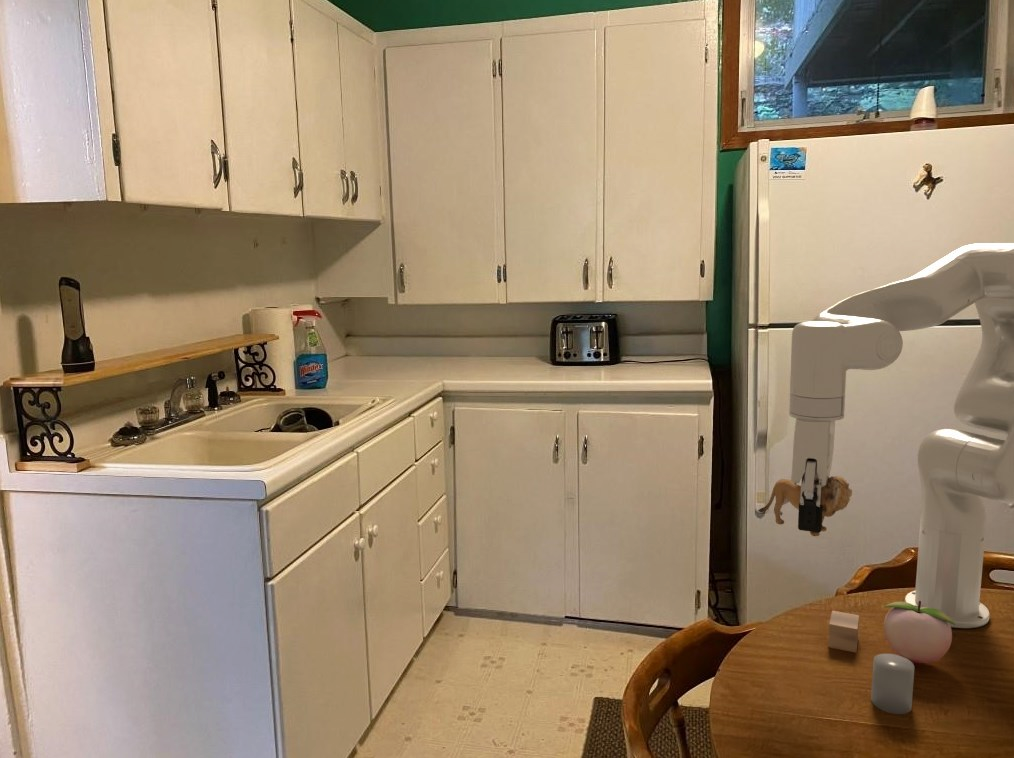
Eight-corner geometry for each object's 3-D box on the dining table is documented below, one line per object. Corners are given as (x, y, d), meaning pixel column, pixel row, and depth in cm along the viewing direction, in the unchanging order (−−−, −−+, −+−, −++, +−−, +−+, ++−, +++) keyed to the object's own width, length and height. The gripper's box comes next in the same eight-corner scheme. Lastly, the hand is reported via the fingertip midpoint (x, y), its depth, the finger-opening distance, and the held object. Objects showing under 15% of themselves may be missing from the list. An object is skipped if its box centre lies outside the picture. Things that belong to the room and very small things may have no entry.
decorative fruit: (881, 671, 114) (885, 608, 113) (880, 645, 122) (884, 585, 120) (954, 685, 110) (959, 619, 109) (949, 657, 118) (953, 595, 116)
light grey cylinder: (871, 689, 110) (874, 650, 109) (911, 698, 108) (914, 658, 107) (870, 708, 105) (873, 668, 104) (911, 717, 103) (914, 676, 102)
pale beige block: (831, 633, 126) (832, 610, 125) (857, 638, 124) (859, 615, 123) (828, 647, 122) (829, 624, 121) (856, 653, 120) (857, 629, 119)
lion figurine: (856, 534, 114) (859, 475, 113) (838, 543, 111) (841, 483, 109) (766, 510, 125) (768, 457, 124) (748, 518, 122) (749, 463, 120)
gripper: (796, 393, 122) (792, 502, 126) (781, 416, 107) (777, 539, 110) (848, 396, 119) (843, 508, 122) (840, 420, 104) (834, 547, 107)
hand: (812, 521), depth 116 cm, fingers closed on lion figurine, 6 cm apart
